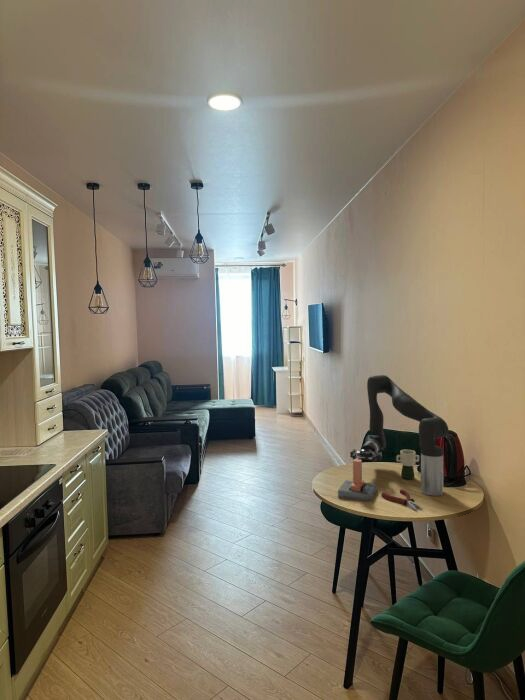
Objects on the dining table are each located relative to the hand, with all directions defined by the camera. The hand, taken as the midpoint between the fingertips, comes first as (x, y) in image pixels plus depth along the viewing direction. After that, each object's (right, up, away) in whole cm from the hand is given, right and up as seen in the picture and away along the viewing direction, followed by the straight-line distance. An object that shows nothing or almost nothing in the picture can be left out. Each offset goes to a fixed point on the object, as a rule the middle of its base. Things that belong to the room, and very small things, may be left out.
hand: (363, 458), depth 213 cm
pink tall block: (-5, -13, -10) cm, 17 cm away
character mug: (+24, -12, +10) cm, 29 cm away
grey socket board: (-5, -13, -10) cm, 17 cm away
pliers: (+11, -14, -20) cm, 27 cm away
